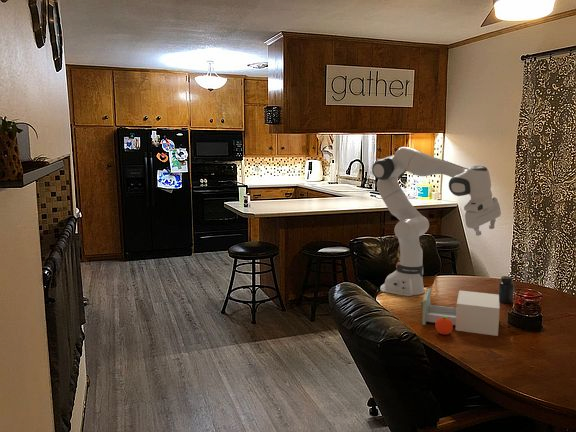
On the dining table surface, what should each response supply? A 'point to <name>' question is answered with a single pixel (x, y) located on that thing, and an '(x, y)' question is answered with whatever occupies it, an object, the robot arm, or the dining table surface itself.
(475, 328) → the block
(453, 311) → the grey drawer
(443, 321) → the clementine
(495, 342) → the dining table surface
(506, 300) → the supplement bottle
